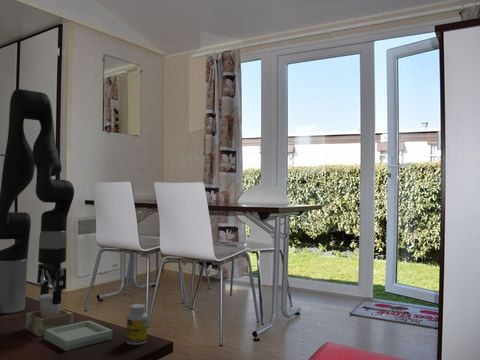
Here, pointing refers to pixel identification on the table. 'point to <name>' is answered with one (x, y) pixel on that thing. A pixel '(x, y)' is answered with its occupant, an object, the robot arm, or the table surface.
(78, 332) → the tray
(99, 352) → the table surface
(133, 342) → the supplement bottle
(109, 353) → the table surface
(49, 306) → the smoothie
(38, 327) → the holder
